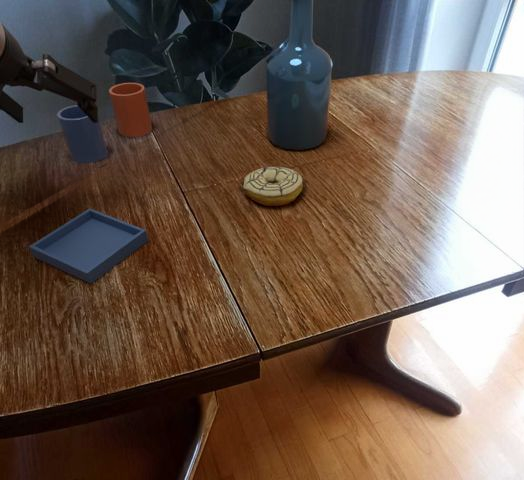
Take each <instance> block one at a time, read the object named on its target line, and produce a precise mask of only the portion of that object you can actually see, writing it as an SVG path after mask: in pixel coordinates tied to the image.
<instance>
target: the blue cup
mask: <svg viewBox="0 0 524 480" xmlns="http://www.w3.org/2000/svg"><path fill="white" fill-rule="evenodd" d="M56 118H57V120H58V124H59V126H60V129H61V132H62V135H63V138H64V141H65V144H66V147H67V150H68V153H69V156H70V159H71V160H72V161H73V162H75V163H77V164H91V163H96V162H99V161H102V160H103V159H105V158H106V157H107V156H108V155H109V151H108V147H107V144H106V140H105V136H104V132H103V129H102V125H101V121H100V117H99V116H98V123H93V122H92V121H91V119H90V118H89V117H88V116H87V115H86V114H85V113H84V112H83V111H82V110H81V109H80V108H79V107H78V106H77V104H75V105H70V106H66V107H64V108H61V109H60V110H59V111H58V112H57V113H56ZM108 164H109V163H108V162H107V163H105V164H103V165H102V166H100V167H99V169H101V168H103V167H106V166H107V165H108Z"/></svg>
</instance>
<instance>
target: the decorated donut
mask: <svg viewBox="0 0 524 480" xmlns="http://www.w3.org/2000/svg"><path fill="white" fill-rule="evenodd" d="M242 187H243V190H245V194H246V196H247V197H248V198H250V199H251V200H252V201H254V202H256V203H257V204H261V205H262V206H267V207H275V206H276V207H279V206H284V205H289V204H290V203H291V202H294V201H295V200H296V199H297V197H298V196H299V195H300V194H301V192H302V191H303V177H302V175H301V174H300V173H299V172H297V171H295V169H292V168H289V167H283V166H265V167H261V168H259V169H258V168H257V169H256V170H254V171H251V172H249V173H248V174H247V175H246V176H245V177H244V179H243V186H242Z"/></svg>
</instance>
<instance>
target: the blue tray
mask: <svg viewBox="0 0 524 480" xmlns="http://www.w3.org/2000/svg"><path fill="white" fill-rule="evenodd" d="M148 241H149V236H148V232H147V230H146V229H144V228H142V227H139V226H138V225H137V226H136V225H134V224H133V223H132V224H131V223H129V222H126V221H124V220H122V219H118V218H116V217H113V216H111V215H108V214H106V213H103V212H100V211H98V210H95V209H93V208H91V207H89V208H88V209H87V210H84V211H83V212H81V213H80V214H78V215H77V216H75V217H73V218H72V219H70V220H69V221H67V222H66V223H64V224H62V225H61V226H59V227H57V228H56V229H55V230H53V231H51V232H50V233H48V234H46V235H45V236H43V237H42V238H40V239H39V240H37V241H35V242H34V243H32V244H30V245H29V246H28V248H29V250H30V252H31V254H32V256H33V258H35V259H36V260H40V261H42V262H43V263H46V264H48V265H50V266H52V267H54V268H56V269H58V270H60V271H63V272H64V273H66V274H69V275H71V276H73V277H75V278H77V279H80V280H82V281H84V282H86V283H88V284H90V285H92V284H93V283H94V282H95V281H97V280H98V279H99V278H101V277H103V276H104V275H105V274H106V273H108V272H109V271H110V270H112V269H113V268H114V267H116V266H117V265H119V264H120V263H121V262H123V260H125V259H126V258H127V257H130V255H132V254H133V253H134V252H135V251H137V250H139V248H141V247H142V246H144V245H145V244H146V243H148Z"/></svg>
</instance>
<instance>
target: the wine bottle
mask: <svg viewBox="0 0 524 480" xmlns="http://www.w3.org/2000/svg"><path fill="white" fill-rule="evenodd" d="M313 15H314V0H290V18H289V19H290V20H289V22H290V23H289V37H288V38H287V39H285V40H284V41H283V42H282V43H281V44H280V45H279V46H278V48H276V49H275V50H274V51H272V52H271V53H270V54H269V55H268V57H267V58H266V60H265V63H266V64H267V65H266V129H267V130H266V131H267V132H266V133H267V134H266V135H267V136H268V139H269V140H270V141H271V143H272V144H273V145H274V146H277V147H279V148H281V149H284V150H293V151H294V150H295V151H303V150H308V149H314V148H316V147H318V146H320V145H322V144H323V143H324V142H325V140H326V138H327V134H328V127H329V116H330V105H331V104H330V103H331V94H332V93H331V92H332V79H333V69H334V68H333V65H334V64H333V60H332V58H331V56H330V54H329V53H328V52H327V51H326V50H325V49H323V48H322V47H321V46H319V45H318V44H316V43H315V42H314V39H313V26H314V25H313V23H314V22H313V21H314V20H313V17H314V16H313Z"/></svg>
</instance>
